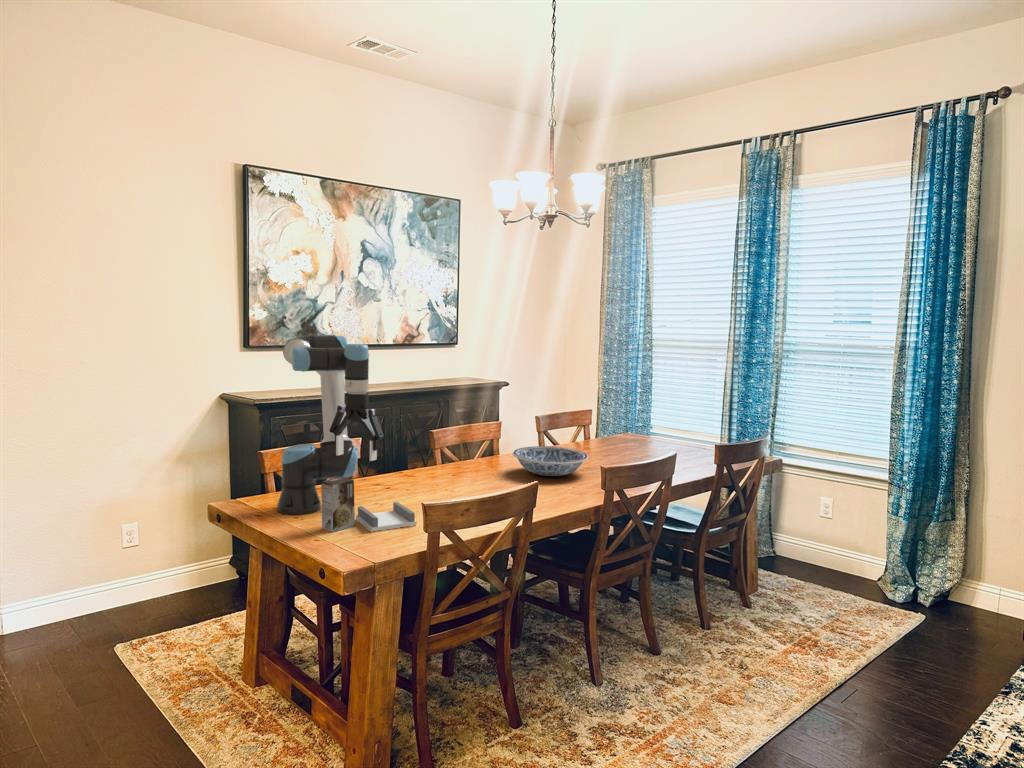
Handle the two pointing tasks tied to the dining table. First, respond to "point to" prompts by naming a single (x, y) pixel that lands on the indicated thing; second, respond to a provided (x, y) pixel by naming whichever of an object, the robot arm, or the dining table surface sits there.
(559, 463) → the ceramic bowl
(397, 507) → the guide cradle
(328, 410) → the robot arm
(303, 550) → the dining table surface
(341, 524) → the coffee box
